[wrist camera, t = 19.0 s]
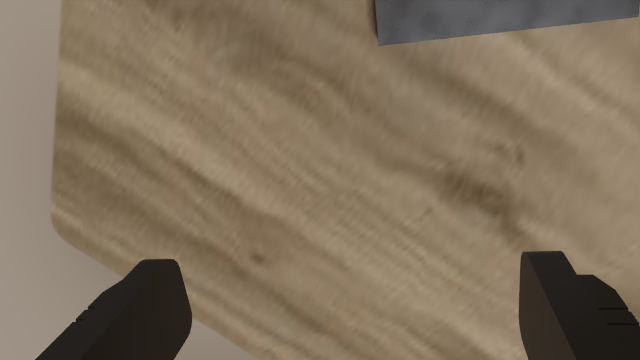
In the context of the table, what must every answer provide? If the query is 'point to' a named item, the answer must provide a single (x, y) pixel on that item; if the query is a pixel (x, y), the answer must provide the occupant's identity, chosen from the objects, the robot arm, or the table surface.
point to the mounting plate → (487, 16)
